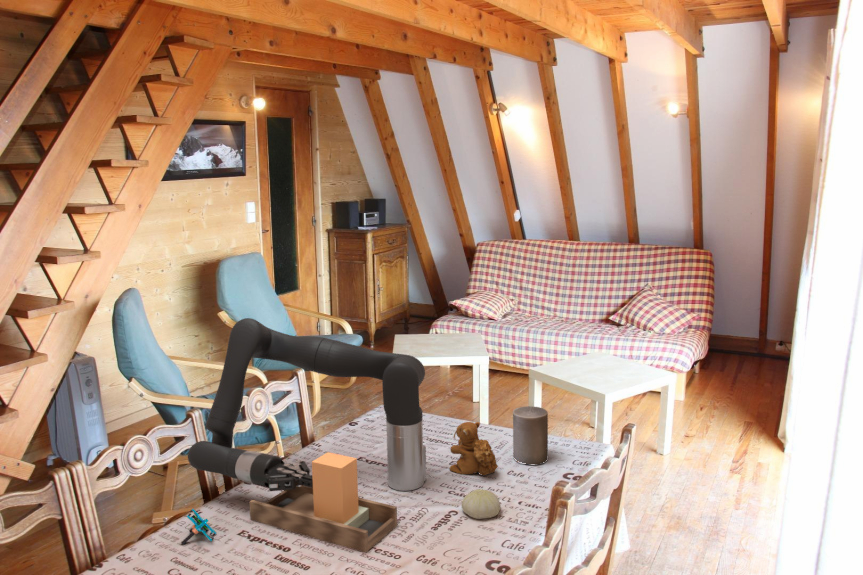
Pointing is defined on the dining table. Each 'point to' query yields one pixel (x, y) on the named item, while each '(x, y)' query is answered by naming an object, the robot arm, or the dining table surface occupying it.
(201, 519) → the stick construction toy
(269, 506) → the open wooden box
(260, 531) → the dining table surface
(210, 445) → the robot arm
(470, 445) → the stuffed squirrel
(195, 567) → the dining table surface
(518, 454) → the pillar candle
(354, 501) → the orange block
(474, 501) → the sea urchin shell
